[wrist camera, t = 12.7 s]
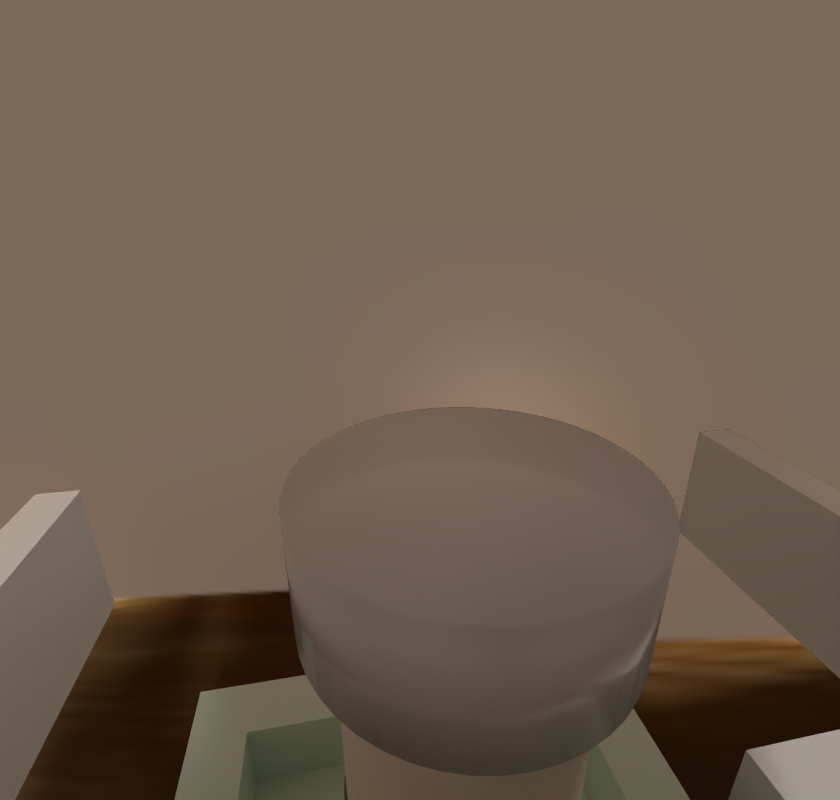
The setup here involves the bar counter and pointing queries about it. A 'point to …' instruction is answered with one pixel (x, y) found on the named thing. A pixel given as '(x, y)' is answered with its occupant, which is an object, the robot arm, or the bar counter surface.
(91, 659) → the bar counter surface
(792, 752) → the white square dish
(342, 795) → the parts tray
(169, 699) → the bar counter surface
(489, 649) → the fuse
